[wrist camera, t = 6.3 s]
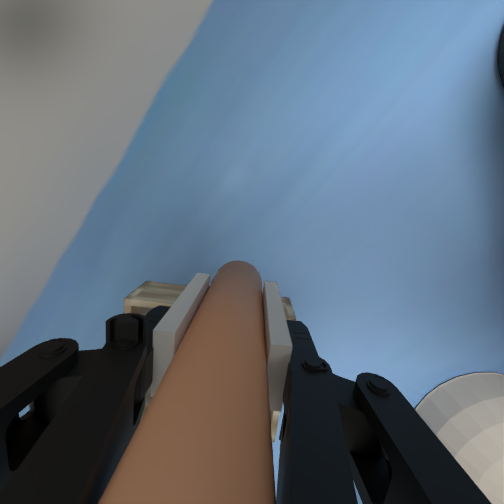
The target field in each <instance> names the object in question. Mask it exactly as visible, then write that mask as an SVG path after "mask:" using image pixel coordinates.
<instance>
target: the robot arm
mask: <svg viewBox="0 0 504 504" xmlns="http://www.w3.org/2000/svg"><path fill="white" fill-rule="evenodd" d="M499 69H500V75H501V79H502V82H503V85H504V30H503V33H502V37H501V41H500V47H499ZM209 279H210V274H205V273H197V274H196V275H195V276H194V278H193V279H192V280H191V282H190V283H189V284H188V285H187V287H186V288H185V289H184V291H183V292H182V293H181V295H180V296H179V297H178V298H177V300H176V301H175V302H174V304H173V305H172V306H171V307H170V306H161V305H159V306H157V307H155V308H153V309H151V310H150V311H149V312H148V313H147V314H146V316H144V315H141V314H137V313H124V314H119V315H116V316H114V317H111V318H110V319H108V320H107V321H106V344H105V345H104V347H103V348H102V349H96V350H84V351H79V346H78V343H77V342H76V340H73V339H69V338H57V339H51V340H49V341H46V342H42V343H40V344H38V345H36V346H34V347H32V348H31V349H29V350H27V351H26V352H24V353H23V354H21V355H19V356H18V357H16V358H14V359H13V360H11V361H10V362H8V363H6V364H5V365H3V366H2V367H0V504H98V503H99V501H100V499H101V497H102V495H103V493H104V491H105V489H106V487H107V485H108V483H109V481H110V479H111V477H112V475H113V473H114V471H115V470H116V468H117V466H118V464H119V462H120V460H121V458H122V456H123V454H124V452H125V450H126V448H127V446H128V444H129V442H130V440H131V438H132V437H133V435H134V433H135V431H136V429H137V427H138V425H139V423H140V420H141V417H142V414H143V411H144V407H145V394H146V393H147V391H148V389H149V387H150V385H151V397H153V396H154V394H155V392H156V390H157V388H158V386H159V384H160V382H161V380H162V378H163V376H164V374H165V372H166V370H167V369H168V367H169V365H170V363H171V361H172V359H173V357H174V355H175V353H176V351H177V349H178V347H179V345H180V343H181V341H182V339H183V337H184V336H185V334H186V332H187V330H188V328H189V326H190V324H191V322H192V320H193V318H194V316H195V314H196V312H197V310H198V308H199V306H200V304H201V303H202V301H203V299H204V297H205V295H206V293H207V291H208V289H209ZM263 311H264V327H265V342H266V358H267V373H268V388H269V404H270V410H271V411H280V412H281V409H282V403H283V404H284V415H283V420H282V426H281V431H280V437H279V440H281V444H280V457H279V470H278V484H277V497H276V504H358V503H357V498H356V493H355V487H354V483H355V485H356V488H357V490H358V493H359V495H360V498H361V500H362V503H363V504H492V503H491V502H490V501H489V500H488V498H487V497H486V496H485V495H484V493H483V492H482V491H481V490H480V489H479V487H478V486H477V485H476V484H475V483H474V481H473V480H472V479H471V478H470V476H469V475H468V474H467V473H466V472H465V470H464V469H463V468H462V467H461V465H460V464H459V463H458V462H457V461H456V459H455V458H454V457H453V456H452V454H451V453H450V452H449V451H448V450H447V448H446V447H445V446H444V445H443V443H442V442H441V441H440V440H439V439H438V437H437V436H436V435H435V434H434V432H433V431H432V430H431V429H430V428H429V426H428V425H427V424H426V423H425V421H424V420H423V419H422V418H421V417H420V415H419V414H418V413H417V412H416V410H415V409H414V408H413V407H412V406H411V404H410V403H409V402H408V401H407V399H406V398H405V397H404V396H403V395H402V393H401V392H400V391H399V390H398V389H397V387H395V386H394V385H393V384H392V383H391V382H390V381H388V380H387V379H385V378H384V377H382V376H379V375H376V374H372V373H361V374H359V375H357V379H356V382H354V381H351V380H348V379H345V378H342V377H340V376H337V375H335V374H333V373H332V370H331V368H330V365H329V364H328V363H327V362H326V361H325V360H323V359H322V358H320V357H319V356H318V353H317V351H316V348H315V346H314V343H313V341H312V338H311V336H310V333H309V330H308V328H307V327H306V326H305V325H304V324H303V323H302V322H301V321H293V320H286V317H285V313H284V309H283V305H282V301H281V297H280V293H279V288H278V284H277V282H271V281H264V288H263ZM27 405H29V407H30V410H29V411H28V412H27V413H26V414H25V415H23V416H22V417H19V412H20V411H22V410H23V409H24V408H25V407H26V406H27ZM353 480H354V482H353Z"/></svg>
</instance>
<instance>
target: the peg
mask: <svg viewBox="0 0 504 504" xmlns="http://www.w3.org/2000/svg"><path fill="white" fill-rule="evenodd" d="M98 504H276V496H275V481H274V465H273V450H272V434H271V419H270V404H269V388H268V373H267V358H266V342H265V327H264V311H263V296H262V281H261V277H260V274H259V272H258V271H257V270H256V268H255V267H253V266H252V265H251V264H249V263H247V262H244V261H232V262H229V263H226V264H225V265H223V266H222V267H221V268H220V269H219V270H218V272H217V273H216V275H215V277H214V279H213V281H212V283H211V285H210V287H209V289H208V291H207V293H206V295H205V297H204V299H203V301H202V303H201V304H200V306H199V308H198V310H197V312H196V314H195V316H194V318H193V320H192V322H191V324H190V326H189V328H188V330H187V332H186V334H185V336H184V337H183V339H182V341H181V343H180V345H179V347H178V349H177V351H176V353H175V355H174V357H173V359H172V361H171V363H170V365H169V367H168V369H167V370H166V372H165V374H164V376H163V378H162V380H161V382H160V384H159V386H158V388H157V390H156V392H155V394H154V396H153V398H152V400H151V402H150V404H149V405H148V407H147V409H146V411H145V413H144V415H143V417H142V419H141V421H140V423H139V425H138V427H137V429H136V431H135V433H134V435H133V437H132V438H131V440H130V442H129V444H128V446H127V448H126V450H125V452H124V454H123V456H122V458H121V460H120V462H119V464H118V466H117V468H116V470H115V471H114V473H113V475H112V477H111V479H110V481H109V483H108V485H107V487H106V489H105V491H104V493H103V495H102V497H101V499H100V501H99V503H98Z"/></svg>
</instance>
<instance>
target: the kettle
mask: <svg viewBox="0 0 504 504" xmlns="http://www.w3.org/2000/svg"><path fill="white" fill-rule="evenodd" d="M415 410H416V412H417V413H418V414H419V415H420V417H421V418H422V419H423V420H424V421H425V423H426V424H427V425H428V426H429V428H430V429H431V430H432V431H433V432H434V434H435V435H436V436H437V437H438V439H439V440H440V441H441V442H442V443H443V445H444V446H445V447H446V448H447V450H448V451H449V452H450V453H451V454H452V456H453V457H454V458H455V459H456V461H457V462H458V463H459V464H460V465H461V467H462V468H463V469H464V470H465V472H466V473H467V474H468V475H469V476H470V478H471V479H472V480H473V481H474V483H475V484H476V485H477V486H478V487H479V489H480V490H481V491H482V492H483V493H484V495H485V496H486V497H487V498H488V500H489V501H490V502H491V503H492V504H504V375H503V374H498V373H472V374H467V375H463V376H459V377H456V378H453V379H451V380H449V381H447V382H445V383H443V384H441V385H439V386H438V387H437V388H435V389H434V390H433V391H431V392H430V393H429V394H427V395H426V396H425V398H424V399H423V400H422V401H421V402H420V404H419V405H418V406H417V407H416V409H415Z"/></svg>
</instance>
